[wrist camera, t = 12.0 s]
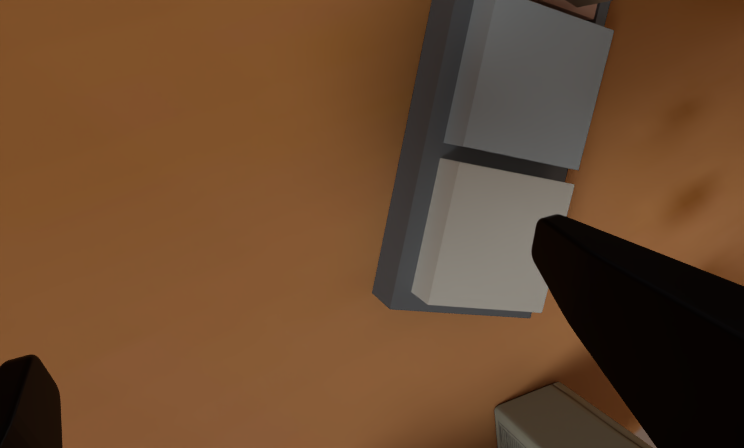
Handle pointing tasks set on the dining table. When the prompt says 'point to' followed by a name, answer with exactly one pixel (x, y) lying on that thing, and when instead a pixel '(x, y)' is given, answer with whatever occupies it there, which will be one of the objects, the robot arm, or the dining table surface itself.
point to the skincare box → (558, 422)
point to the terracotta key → (570, 8)
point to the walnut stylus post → (585, 2)
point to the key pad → (488, 154)
